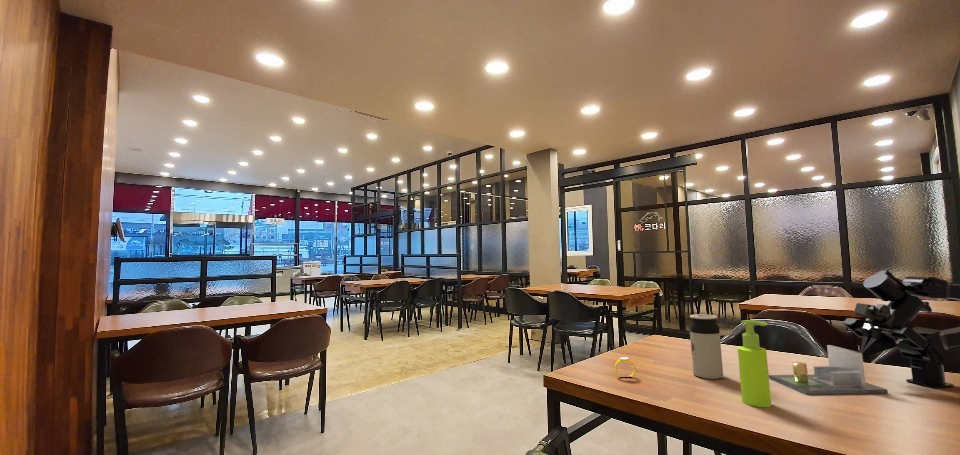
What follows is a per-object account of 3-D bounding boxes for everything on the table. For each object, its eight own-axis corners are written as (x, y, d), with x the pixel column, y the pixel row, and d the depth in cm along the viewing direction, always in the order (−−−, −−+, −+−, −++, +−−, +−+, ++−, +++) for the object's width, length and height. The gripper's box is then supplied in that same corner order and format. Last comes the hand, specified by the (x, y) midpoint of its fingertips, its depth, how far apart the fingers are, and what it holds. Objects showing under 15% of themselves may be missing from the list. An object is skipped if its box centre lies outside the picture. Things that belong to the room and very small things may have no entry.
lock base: (841, 377, 114) (838, 356, 115) (888, 393, 100) (885, 369, 101) (769, 378, 115) (767, 357, 116) (805, 394, 102) (803, 370, 102)
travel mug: (723, 374, 121) (718, 314, 123) (723, 381, 115) (717, 318, 116) (694, 371, 126) (689, 313, 127) (692, 377, 119) (687, 316, 120)
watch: (617, 379, 120) (614, 359, 121) (615, 377, 123) (612, 357, 123) (637, 378, 119) (634, 358, 120) (635, 376, 122) (632, 356, 123)
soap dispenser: (767, 410, 92) (759, 323, 94) (737, 401, 98) (730, 320, 100) (781, 405, 95) (773, 321, 96) (750, 397, 101) (743, 317, 103)
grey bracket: (833, 375, 113) (830, 345, 113) (865, 386, 103) (861, 353, 103) (810, 375, 113) (806, 345, 114) (839, 386, 103) (836, 353, 104)
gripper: (845, 290, 119) (811, 329, 118) (908, 295, 100) (868, 341, 100) (876, 316, 117) (842, 355, 117) (946, 326, 99) (906, 372, 98)
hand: (862, 355), depth 108 cm, fingers closed
